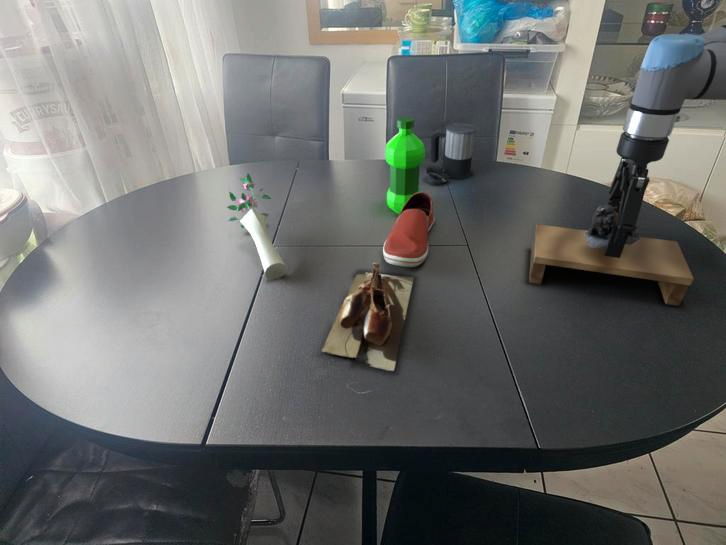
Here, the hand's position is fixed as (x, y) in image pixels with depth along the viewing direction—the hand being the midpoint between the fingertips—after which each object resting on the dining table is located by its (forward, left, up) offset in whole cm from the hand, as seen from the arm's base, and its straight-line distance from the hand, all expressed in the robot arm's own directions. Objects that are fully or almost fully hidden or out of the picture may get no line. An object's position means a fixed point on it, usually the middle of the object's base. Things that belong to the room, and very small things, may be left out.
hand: (609, 242), depth 91 cm
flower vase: (+78, +8, -9) cm, 79 cm away
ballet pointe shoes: (+43, +26, -9) cm, 51 cm away
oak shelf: (0, 0, -8) cm, 8 cm away
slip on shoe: (+42, -2, -9) cm, 43 cm away
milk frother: (+40, -45, -9) cm, 61 cm away
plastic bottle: (+48, -19, -9) cm, 52 cm away
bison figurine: (0, 0, -1) cm, 1 cm away
